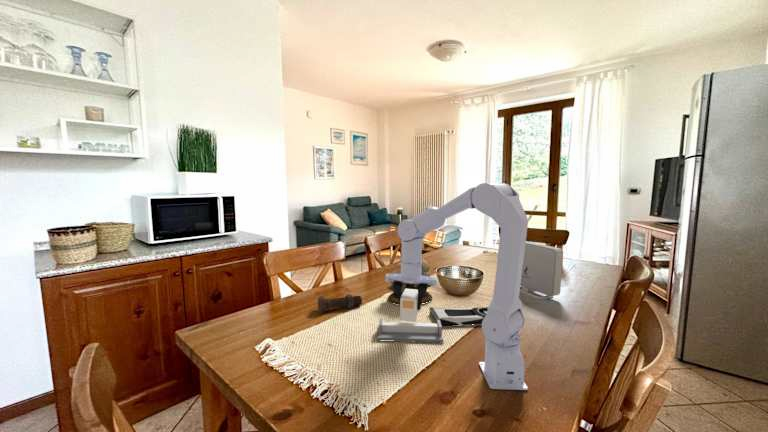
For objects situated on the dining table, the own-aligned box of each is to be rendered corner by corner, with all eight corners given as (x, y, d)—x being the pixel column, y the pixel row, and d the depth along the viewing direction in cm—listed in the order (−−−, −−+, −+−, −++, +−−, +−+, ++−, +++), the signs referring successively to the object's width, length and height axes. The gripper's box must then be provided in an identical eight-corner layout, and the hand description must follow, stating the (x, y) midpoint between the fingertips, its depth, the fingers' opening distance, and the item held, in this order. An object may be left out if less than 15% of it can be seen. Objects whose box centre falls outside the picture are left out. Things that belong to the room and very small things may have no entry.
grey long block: (443, 343, 85) (443, 330, 85) (377, 341, 86) (378, 329, 85) (438, 327, 94) (438, 316, 94) (379, 326, 95) (379, 315, 94)
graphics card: (429, 306, 103) (501, 304, 106) (429, 316, 104) (500, 314, 106) (437, 319, 93) (516, 317, 96) (437, 330, 94) (516, 327, 96)
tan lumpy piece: (426, 292, 125) (428, 250, 123) (439, 303, 114) (441, 258, 112) (383, 295, 120) (384, 252, 118) (392, 308, 109) (394, 260, 107)
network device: (497, 282, 138) (499, 238, 136) (511, 280, 142) (514, 237, 140) (548, 303, 115) (552, 250, 113) (564, 299, 119) (568, 248, 116)
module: (415, 322, 85) (416, 300, 84) (399, 320, 86) (400, 298, 85) (419, 310, 93) (419, 289, 92) (404, 308, 94) (405, 288, 93)
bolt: (361, 311, 110) (319, 316, 104) (357, 299, 114) (316, 304, 108) (365, 300, 107) (321, 305, 101) (361, 289, 111) (319, 293, 105)
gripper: (383, 263, 86) (382, 310, 87) (436, 267, 82) (434, 316, 84) (388, 257, 92) (387, 301, 94) (438, 260, 89) (436, 306, 90)
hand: (410, 307), depth 89 cm, fingers closed on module, 4 cm apart
